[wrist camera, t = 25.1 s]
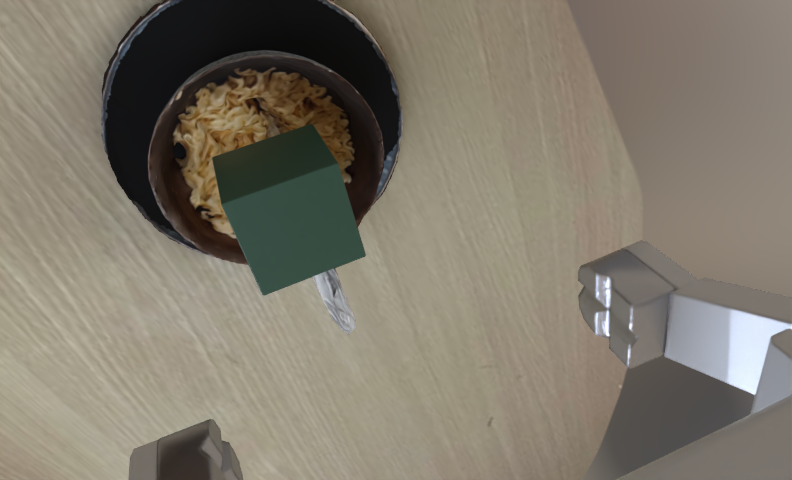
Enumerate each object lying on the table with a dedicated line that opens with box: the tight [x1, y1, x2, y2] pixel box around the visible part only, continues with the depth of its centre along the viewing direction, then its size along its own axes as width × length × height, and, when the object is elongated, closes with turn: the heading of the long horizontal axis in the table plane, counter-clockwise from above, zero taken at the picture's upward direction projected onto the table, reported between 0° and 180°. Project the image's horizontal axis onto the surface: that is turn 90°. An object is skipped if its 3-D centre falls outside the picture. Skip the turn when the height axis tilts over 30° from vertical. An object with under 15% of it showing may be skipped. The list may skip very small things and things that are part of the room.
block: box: [212, 124, 366, 295], centre depth 24 cm, size 4×4×4 cm
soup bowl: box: [102, 0, 403, 335], centre depth 27 cm, size 15×16×7 cm
